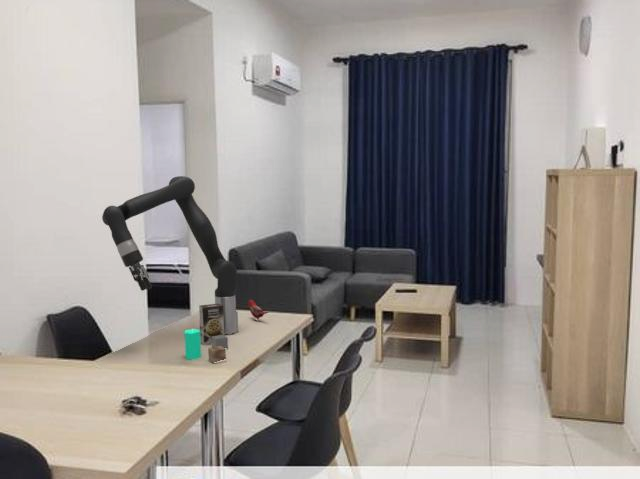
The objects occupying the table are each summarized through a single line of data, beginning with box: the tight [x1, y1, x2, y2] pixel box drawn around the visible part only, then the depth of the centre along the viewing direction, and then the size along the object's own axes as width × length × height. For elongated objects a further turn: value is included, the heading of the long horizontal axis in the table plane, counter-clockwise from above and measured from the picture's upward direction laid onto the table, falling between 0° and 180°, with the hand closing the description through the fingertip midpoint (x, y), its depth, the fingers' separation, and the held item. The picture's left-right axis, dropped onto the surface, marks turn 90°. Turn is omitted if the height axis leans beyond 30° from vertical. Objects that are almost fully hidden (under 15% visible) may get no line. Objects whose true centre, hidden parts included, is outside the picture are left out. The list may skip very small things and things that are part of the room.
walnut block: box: [207, 346, 227, 364], centre depth 219 cm, size 5×5×5 cm
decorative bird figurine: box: [248, 299, 269, 320], centre depth 280 cm, size 3×18×10 cm, turn 40°
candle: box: [184, 328, 202, 360], centre depth 224 cm, size 6×6×12 cm
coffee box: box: [198, 303, 225, 346], centre depth 245 cm, size 9×6×16 cm
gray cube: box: [211, 335, 229, 349], centre depth 236 cm, size 5×5×5 cm
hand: (147, 289), depth 229 cm, fingers open, 8 cm apart
